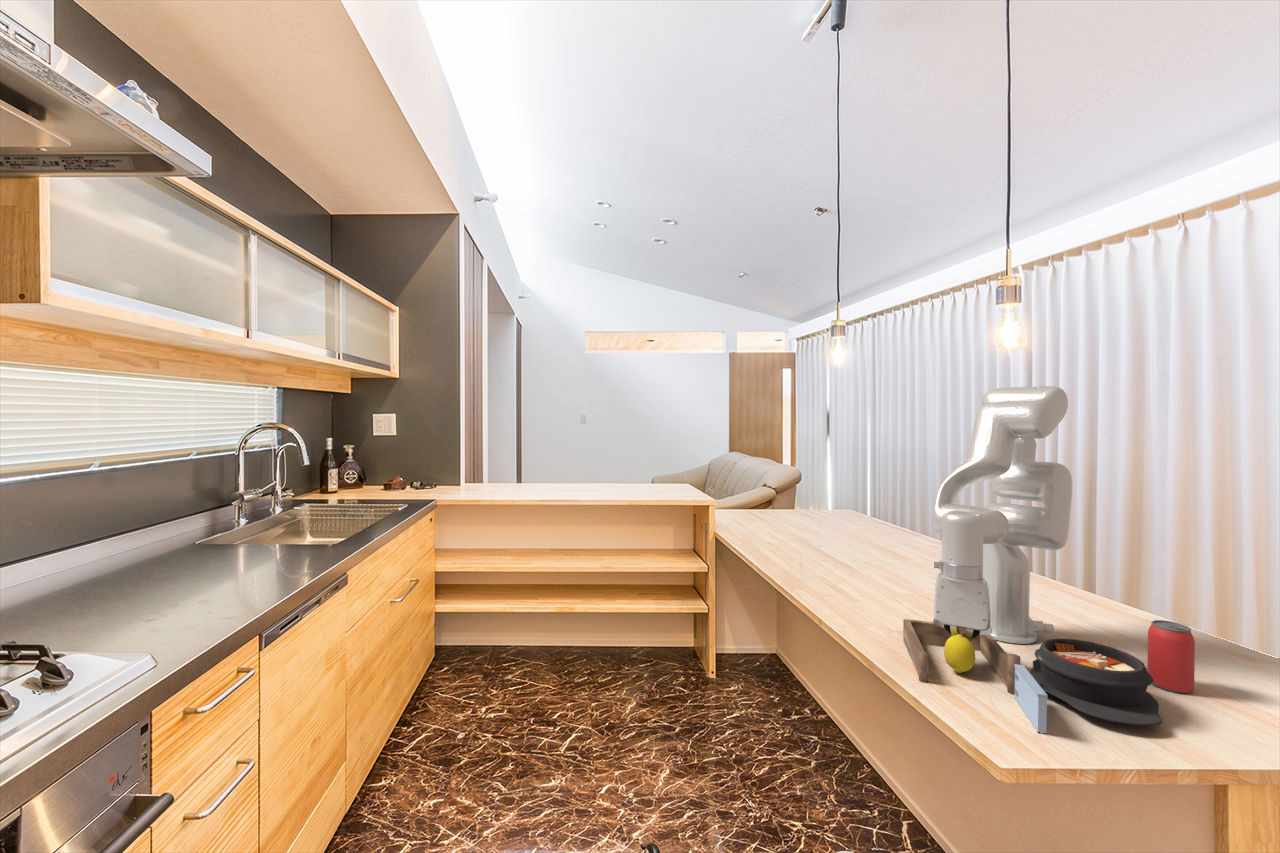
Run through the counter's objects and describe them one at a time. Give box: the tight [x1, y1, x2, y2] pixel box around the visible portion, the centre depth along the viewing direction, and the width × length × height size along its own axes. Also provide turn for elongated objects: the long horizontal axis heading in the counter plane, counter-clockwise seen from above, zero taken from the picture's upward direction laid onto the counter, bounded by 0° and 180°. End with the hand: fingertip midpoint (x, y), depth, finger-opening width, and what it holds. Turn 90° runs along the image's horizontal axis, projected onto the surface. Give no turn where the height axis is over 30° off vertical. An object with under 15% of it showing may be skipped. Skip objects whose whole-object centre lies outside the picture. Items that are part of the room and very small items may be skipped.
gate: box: [1014, 664, 1049, 734], centre depth 96 cm, size 12×1×6 cm, turn 161°
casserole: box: [1029, 638, 1163, 727], centre depth 102 cm, size 25×19×8 cm
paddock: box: [902, 618, 1021, 696], centre depth 115 cm, size 17×22×7 cm
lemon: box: [943, 634, 976, 674], centre depth 111 cm, size 6×6×8 cm
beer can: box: [1146, 619, 1196, 694], centre depth 106 cm, size 7×7×12 cm
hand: (961, 656), depth 115 cm, fingers closed
